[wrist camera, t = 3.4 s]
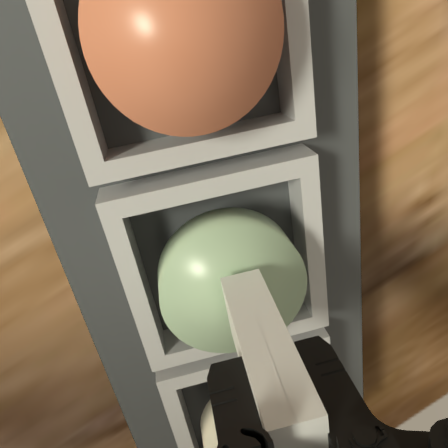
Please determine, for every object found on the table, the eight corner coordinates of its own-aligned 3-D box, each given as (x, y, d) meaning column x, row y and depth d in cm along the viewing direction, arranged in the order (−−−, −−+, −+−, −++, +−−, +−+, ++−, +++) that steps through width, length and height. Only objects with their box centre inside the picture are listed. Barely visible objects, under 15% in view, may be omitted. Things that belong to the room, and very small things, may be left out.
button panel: (149, 435, 28) (150, 509, 24) (-50, -81, 15) (-127, -126, 10) (343, 382, 29) (377, 442, 25) (318, -139, 16) (382, -200, 12)
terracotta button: (116, 141, 15) (113, 154, 13) (58, -59, 12) (45, -73, 10) (276, 106, 15) (292, 116, 14) (256, -91, 12) (272, -109, 11)
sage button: (174, 339, 19) (177, 368, 17) (141, 226, 16) (141, 247, 15) (298, 307, 19) (312, 332, 18) (285, 193, 17) (301, 210, 15)
